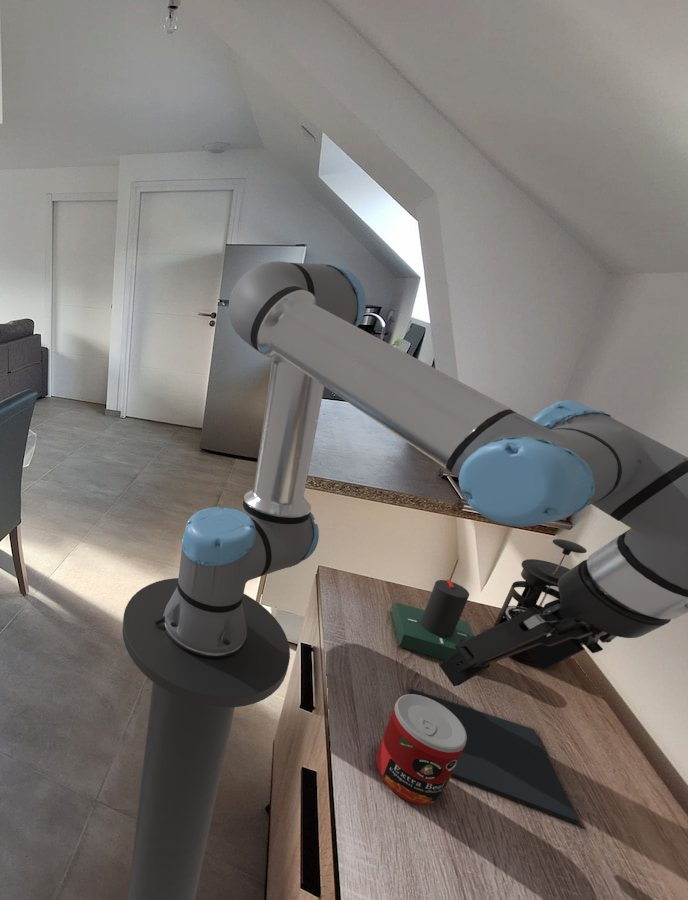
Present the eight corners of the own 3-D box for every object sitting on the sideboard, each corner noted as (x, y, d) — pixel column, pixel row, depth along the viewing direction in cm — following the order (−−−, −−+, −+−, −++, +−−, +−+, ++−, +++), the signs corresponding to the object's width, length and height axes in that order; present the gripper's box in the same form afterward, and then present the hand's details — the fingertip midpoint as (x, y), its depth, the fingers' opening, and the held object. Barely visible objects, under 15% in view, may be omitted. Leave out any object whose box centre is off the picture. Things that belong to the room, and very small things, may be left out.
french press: (561, 679, 79) (622, 568, 71) (492, 655, 84) (542, 549, 75) (543, 637, 88) (595, 536, 80) (482, 618, 93) (525, 520, 85)
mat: (427, 767, 64) (428, 764, 63) (409, 691, 75) (410, 688, 75) (577, 824, 57) (579, 821, 57) (532, 732, 69) (534, 729, 69)
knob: (456, 640, 83) (473, 599, 79) (423, 631, 84) (439, 590, 81) (449, 623, 87) (465, 583, 83) (418, 615, 89) (432, 575, 85)
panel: (399, 646, 85) (404, 633, 84) (391, 613, 93) (395, 601, 92) (478, 670, 80) (484, 656, 79) (462, 633, 89) (468, 620, 87)
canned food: (377, 791, 60) (401, 732, 56) (371, 740, 67) (391, 684, 63) (447, 819, 57) (476, 760, 53) (432, 763, 64) (458, 706, 60)
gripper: (558, 641, 42) (430, 713, 57) (768, 604, 45) (596, 681, 60) (493, 570, 47) (392, 653, 62) (686, 542, 50) (546, 626, 65)
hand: (492, 667), depth 61 cm, fingers open, 13 cm apart
